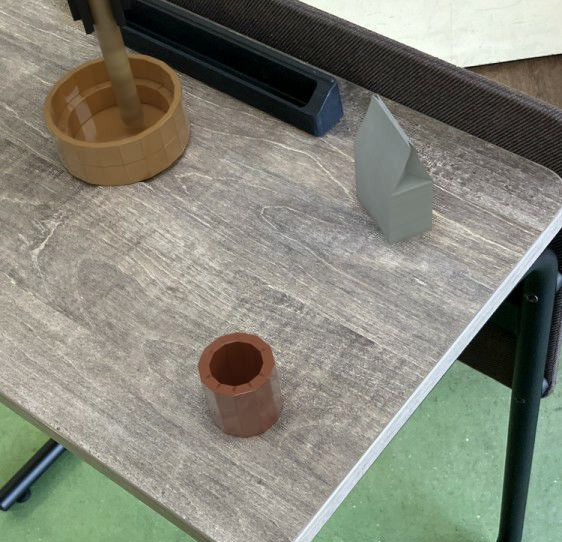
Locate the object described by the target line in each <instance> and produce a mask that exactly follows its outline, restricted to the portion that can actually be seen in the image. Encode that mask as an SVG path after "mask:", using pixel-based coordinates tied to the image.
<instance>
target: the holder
mask: <svg viewBox="0 0 562 542" xmlns="http://www.w3.org/2000/svg"><path fill="white" fill-rule="evenodd" d="M197 370H198V375H199V379H200V383H201V386H202V389H203V392H204V395H205V399H206V402H207V406H208V409H209V411H210V415H211V417H212V421H213V423H214V425H216V426H217V427H218V428H219V430H222V431H223V432H224V433H225V434H226V435H230V436H233V437H239V438H251V437H255V436H258V435H261V434H263V433H265V432H266V431H268V430H270V429H271V428H272V427H273V426H274V425H275V424H276V423H277V422H278V420H279V418H280V416H281V414H282V409H283V406H284V401H283V396H282V391H281V387H280V380H279V375H278V370H277V365H276V360H275V357H274V353H273V349H272V346H271V345H270V344H268V343H267V342H266V341H265V340H263V339H262V338H261V337H259V335H256V334H251V333H246V332H241V331H235V332H233V333H229V334H224V335H220V336H218V337H217V338H215V339H214V340H213V341H212V342H211V343H209V344H208V345H207V346H206V347H205V348H203V351H202V353H201V355H200V357H199V360H198V363H197Z"/></svg>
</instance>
